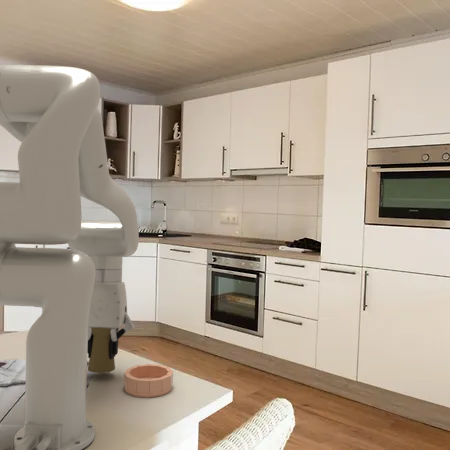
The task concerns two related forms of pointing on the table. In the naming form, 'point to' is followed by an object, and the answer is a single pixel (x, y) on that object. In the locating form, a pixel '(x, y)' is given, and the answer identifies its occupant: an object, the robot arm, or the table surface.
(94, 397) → the table surface
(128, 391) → the copper faceted bowl
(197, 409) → the table surface
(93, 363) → the cork
